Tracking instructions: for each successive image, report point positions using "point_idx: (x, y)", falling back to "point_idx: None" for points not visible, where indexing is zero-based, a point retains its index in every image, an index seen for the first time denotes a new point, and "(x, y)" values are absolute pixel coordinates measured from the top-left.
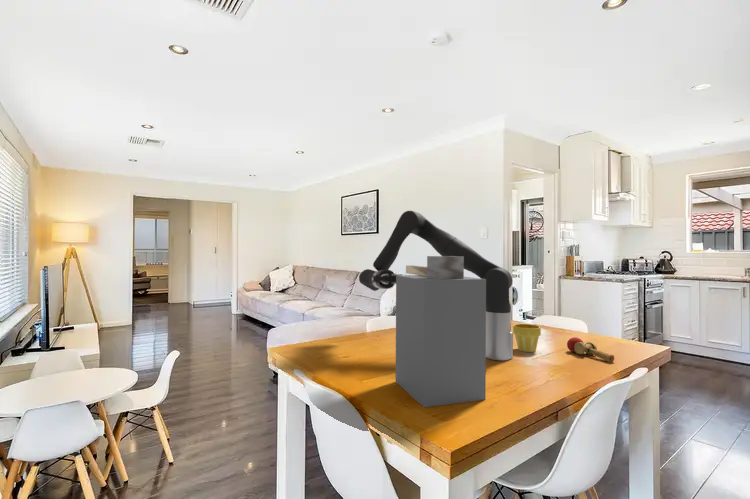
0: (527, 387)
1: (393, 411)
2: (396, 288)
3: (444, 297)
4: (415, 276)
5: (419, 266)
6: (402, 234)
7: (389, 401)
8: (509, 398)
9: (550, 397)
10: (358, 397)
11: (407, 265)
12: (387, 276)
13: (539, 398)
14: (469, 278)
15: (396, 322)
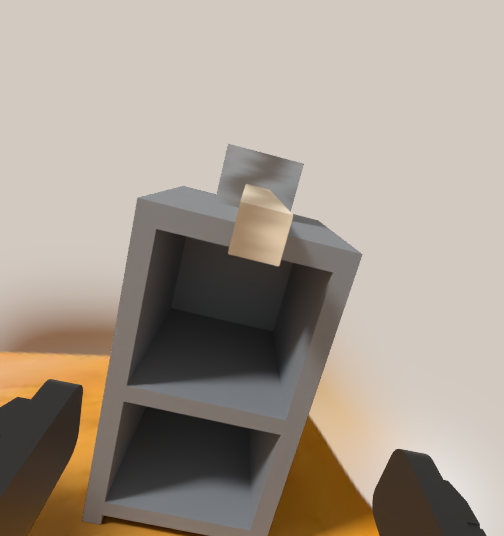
0: (6, 391)
1: (308, 434)
2: (346, 297)
3: None
4: (305, 231)
5: (267, 196)
6: None
7: (306, 464)
8: (99, 384)
9: (34, 359)
10: (366, 505)
11: (283, 212)
12: (405, 453)
13: (55, 365)
14: (203, 193)
15: (310, 401)
